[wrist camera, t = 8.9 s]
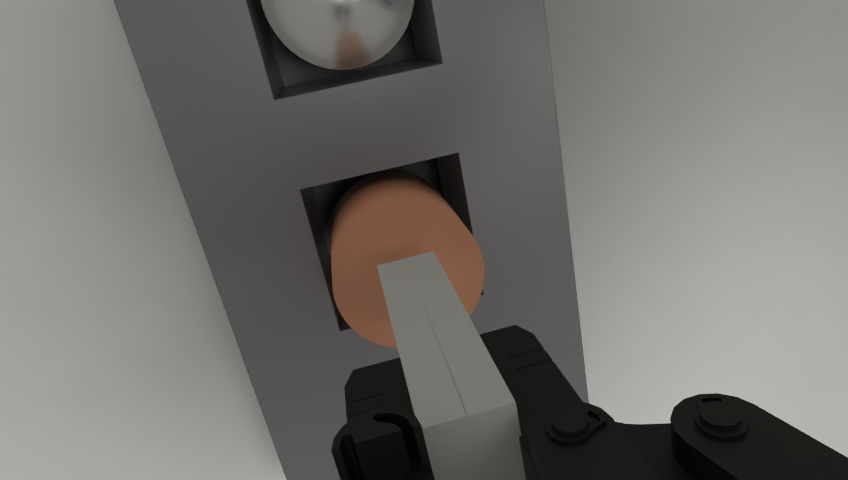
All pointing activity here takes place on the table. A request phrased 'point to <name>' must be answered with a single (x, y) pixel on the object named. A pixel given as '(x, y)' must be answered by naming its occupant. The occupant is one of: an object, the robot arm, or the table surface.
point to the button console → (349, 157)
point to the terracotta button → (395, 246)
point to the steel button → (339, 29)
